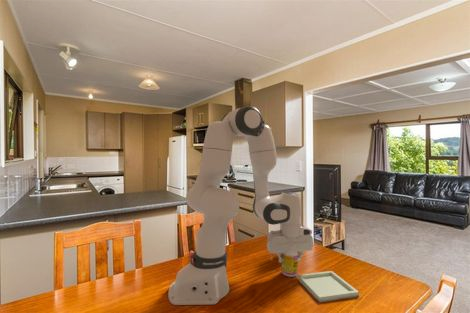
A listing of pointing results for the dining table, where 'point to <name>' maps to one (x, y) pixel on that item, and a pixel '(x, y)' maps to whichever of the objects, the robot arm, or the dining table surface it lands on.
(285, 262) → the supplement bottle
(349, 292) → the tray
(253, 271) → the dining table surface
